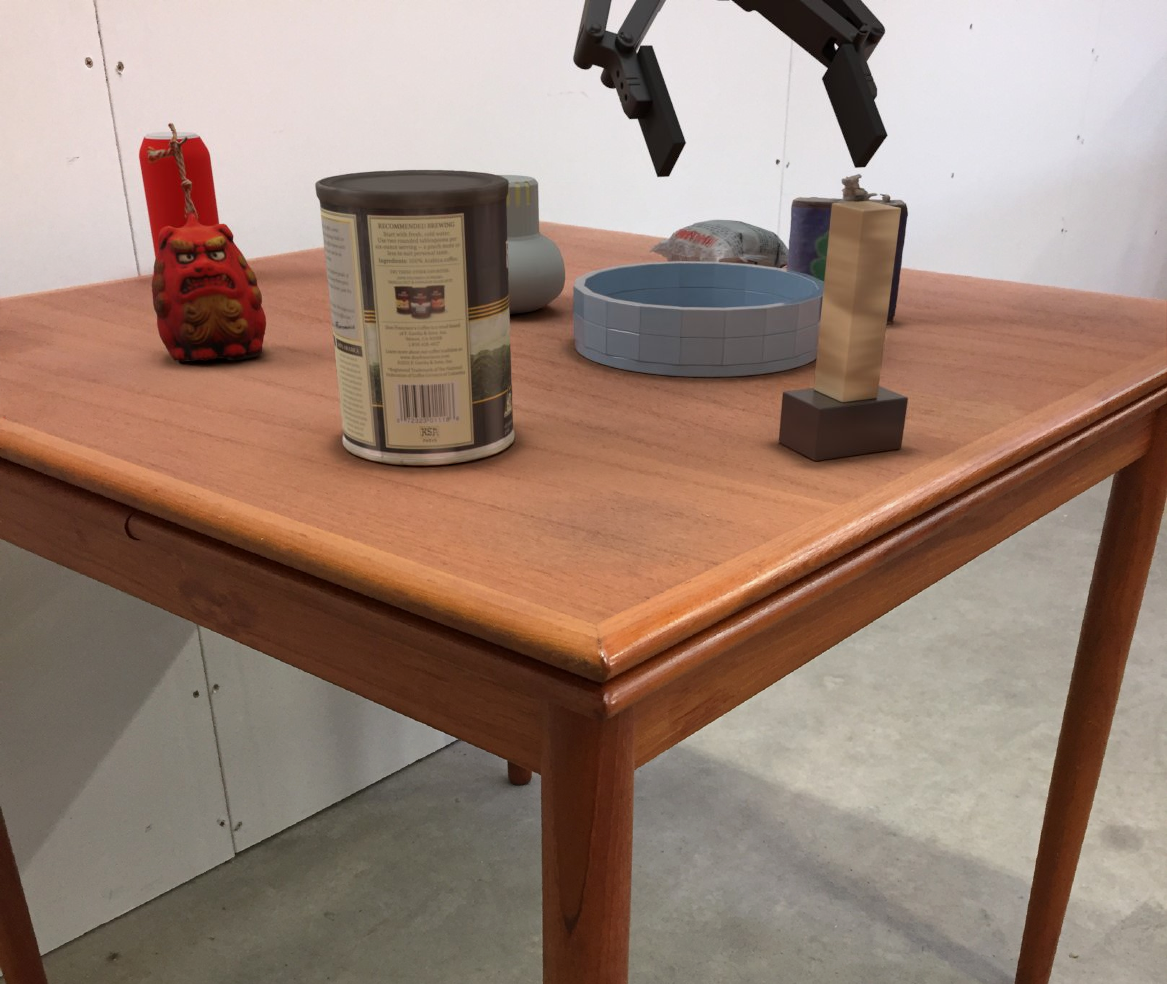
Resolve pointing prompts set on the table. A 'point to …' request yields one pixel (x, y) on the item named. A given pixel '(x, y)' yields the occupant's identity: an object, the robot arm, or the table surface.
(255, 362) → the table surface
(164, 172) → the beverage can
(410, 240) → the coffee can
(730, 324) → the bowl
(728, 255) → the packaged food
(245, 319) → the red clay folk toy
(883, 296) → the brush
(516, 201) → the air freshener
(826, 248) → the flask
